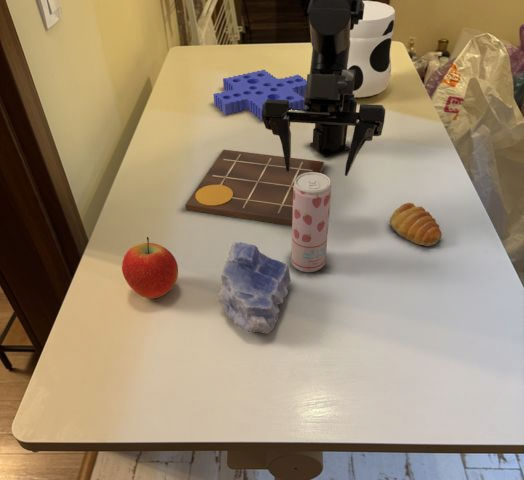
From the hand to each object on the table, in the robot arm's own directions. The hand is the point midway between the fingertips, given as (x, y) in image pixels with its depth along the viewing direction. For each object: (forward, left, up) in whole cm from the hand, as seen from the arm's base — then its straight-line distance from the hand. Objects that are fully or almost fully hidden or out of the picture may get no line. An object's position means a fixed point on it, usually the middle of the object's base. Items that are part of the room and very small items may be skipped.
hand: (316, 173), depth 82 cm
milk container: (-43, -48, -13) cm, 66 cm away
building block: (-21, -56, -13) cm, 61 cm away
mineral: (+17, +10, -13) cm, 24 cm away
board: (0, -20, -13) cm, 24 cm away
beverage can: (+4, +5, -13) cm, 14 cm away
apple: (+29, -1, -13) cm, 32 cm away
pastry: (-17, +7, -13) cm, 22 cm away
